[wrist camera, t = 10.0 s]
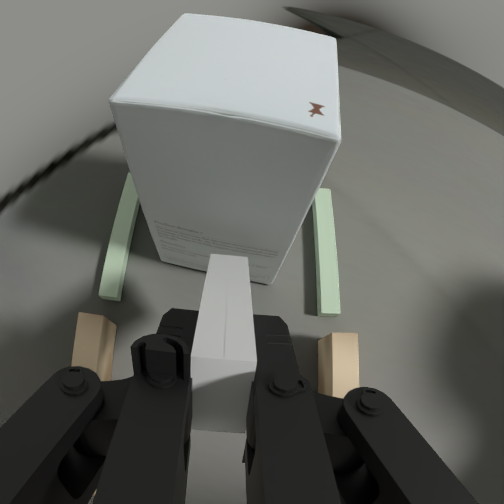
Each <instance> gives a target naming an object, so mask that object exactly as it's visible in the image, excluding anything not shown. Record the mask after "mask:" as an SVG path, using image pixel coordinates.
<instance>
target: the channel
mask: <svg viewBox="0 0 504 504" xmlns="http://www.w3.org/2000/svg"><path fill="white" fill-rule="evenodd" d="M116 327H117V326H116V325H115V324H114V323H113V322H111V321H110V320H109V319H107V318H106V317H105V316H103V315H96V314H89V313H83V312H79V315H78V321H77V327H76V334H75V341H74V348H73V356H72V365H71V366H81V367H85V368H89V369H91V370H92V371H94V372H95V373H97V375H98V377H99V378H100V380H101V381H111V371H112V361H113V351H114V343H115V335H116ZM355 388H359V355H358V333H331V334H329V335H327V336H325V337H324V338H322V339H320V340H318V393H321V394H324V395H328V396H333V397H338V398H344V396H345V395H346V394H347V393H348V391H350V390H352V389H355ZM96 490H97V489H96ZM95 493H96V491H95V492H94V494H93V495H92V496H94V495H95Z"/></svg>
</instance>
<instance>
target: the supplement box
mask: <svg viewBox="0 0 504 504" xmlns="http://www.w3.org/2000/svg"><path fill="white" fill-rule="evenodd" d="M109 104H110V108H111V110H112V114H113V117H114V120H115V123H116V126H117V130H118V133H119V137H120V140H121V143H122V147H123V150H124V154H125V157H126V160H127V163H128V167H129V170H130V173H131V176H132V179H133V183H134V185H135V189H136V192H137V195H138V198H139V201H140V204H141V207H142V210H143V213H144V216H145V219H146V221H147V224H148V227H149V230H150V233H151V236H152V238H153V241H154V243H155V246H156V248H157V251H158V254H159V256H160V259H161V261H163V262H168V263H172V264H176V265H180V266H184V267H189V268H193V269H198V270H202V271H207V270H208V265H209V260H210V255H211V254H220V255H231V256H242V257H248V266H249V277H250V281H254V282H259V283H264V284H268V285H272V283H273V281H274V280H275V278H276V276H277V274H278V271H279V269H280V267H281V265H282V263H283V261H284V259H285V257H286V255H287V253H288V251H289V249H290V247H291V245H292V243H293V241H294V239H295V237H296V235H297V233H298V231H299V229H300V227H301V225H302V223H303V221H304V219H305V217H306V214H307V212H308V210H309V208H310V206H311V204H312V202H313V200H314V198H315V196H316V194H317V192H318V189H319V187H320V185H321V183H322V181H323V179H324V177H325V175H326V173H327V170H328V168H329V166H330V164H331V162H332V160H333V158H334V156H335V154H336V152H337V149H338V147H339V145H340V142H341V124H340V102H339V85H338V62H337V44H336V39H335V38H333V37H330V36H326V35H322V34H317V33H313V32H309V31H305V30H300V29H296V28H291V27H286V26H281V25H275V24H270V23H264V22H258V21H252V20H245V19H238V18H229V17H220V16H211V15H199V14H187V13H186V14H183V15H182V16H181V17H180V18H179V19H178V20H177V21H176V22H175V23H174V24H173V25H172V26H171V27H170V28H169V29H168V30H167V32H166V33H165V34H164V35H163V36H162V37H161V38H160V39H159V40H158V41H157V42H156V44H155V45H154V46H153V47H152V48H151V49H150V50H149V52H148V53H147V54H146V55H145V57H144V58H143V59H142V60H141V61H140V62H139V63H138V64H137V66H136V67H135V68H134V69H133V70H132V71H131V73H130V74H129V75H128V76H127V77H126V79H125V80H124V81H123V82H122V83H121V85H120V86H119V87H118V88H117V90H116V91H115V93H114V94H113V95H112V96H111V97H110V99H109Z"/></svg>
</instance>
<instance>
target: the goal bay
mask: <svg viewBox="0 0 504 504" xmlns="http://www.w3.org/2000/svg"><path fill="white" fill-rule="evenodd" d="M139 205H140V201H139V198H138V195H137V192H136V189H135V185H134V183H133V179H132V176H131V173H130V172H128V175H127V179H126V182H125V185H124V189H123V192H122V196H121V199H120V203H119V206H118V210H117V214H116V218H115V221H114V225H113V229H112V233H111V237H110V242H109V246H108V250H107V255H106V259H105V264H104V269H103V274H102V279H101V284H100V289H99V294H98V295H99V296H100V297H101V298H102V299H106V300H114V301H120V300H121V294H122V288H123V282H124V276H125V271H126V265H127V260H128V255H129V250H130V245H131V240H132V236H133V231H134V227H135V222H136V218H137V213H138V209H139ZM312 209H313V224H314V240H315V259H316V282H317V314H318V316H325V317H336V316H338V315H339V314H340V296H339V279H338V265H337V252H336V240H335V229H334V219H333V209H332V200H331V192H330V189H324V188H319V189H318V192H317V194H316V196H315V198H314V200H313V202H312Z"/></svg>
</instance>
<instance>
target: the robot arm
mask: <svg viewBox="0 0 504 504" xmlns="http://www.w3.org/2000/svg"><path fill="white" fill-rule="evenodd" d="M131 354H132V362H133V370H134V376H133V377H130V378H127V379H123V380H114V381H101V380H100V378H99V377H98V375H97V373H95V372H94V371H92V370H91V369H89V368H85V367H81V366H70V367H67V368H64V369H61V370H59V371H58V372H56V373H55V374H54V375H53V376H52V377H51V378H49V379H48V380H47V381H46V382H45V383H44V384H43V385H42V386H41V387H40V388H39V389H38V390H37V391H36V392H35V393H34V394H33V395H32V396H31V397H30V398H29V399H28V400H27V401H26V402H25V403H24V404H23V405H22V406H21V407H20V408H19V409H18V410H17V411H16V412H15V413H14V414H13V415H12V416H11V418H10V419H9V420H8V421H7V422H6V423H5V424H4V425H3V426H2V427H1V428H0V504H87V503H88V502H89V500H90V499H91V497H92V495H93V494H94V492H95V491H96V493H95V497H94V501H93V504H185V496H186V485H187V474H188V464H189V454H190V432H191V429H195V430H206V431H218V432H234V433H245V431H247V439H246V445H245V450H244V455H243V461H242V463H245V468H246V494H247V504H478V503H477V502H476V501H475V499H474V498H473V497H472V496H471V495H470V493H469V492H468V491H467V490H466V488H465V487H464V486H463V485H462V484H461V482H460V481H459V480H458V479H457V478H456V476H455V475H454V474H453V473H452V471H451V470H450V469H449V468H448V467H447V465H446V464H445V463H444V462H443V461H442V459H441V458H440V457H439V456H438V455H437V453H436V452H435V451H434V450H433V449H432V447H431V446H430V445H429V444H428V443H427V441H426V440H425V439H424V438H423V437H422V435H421V434H420V433H419V432H418V431H417V430H416V428H415V427H414V426H413V425H412V424H411V422H410V421H409V420H408V419H407V418H406V416H405V415H404V414H403V413H402V412H401V410H400V409H399V408H398V407H397V406H396V405H395V403H394V402H393V401H392V400H391V399H390V398H389V397H388V396H387V395H386V394H385V393H383V392H381V391H379V390H377V389H374V388H368V387H359V388H355V389H352V390H350V391H348V393H347V394H346V395H345V396H344V398H338V397H333V396H328V395H324V394H321V393H318V392H316V391H314V390H312V388H311V386H310V384H309V383H308V381H307V380H306V379H305V378H304V377H302V376H301V375H300V374H299V370H298V366H297V362H296V358H295V354H294V350H293V346H292V342H291V338H290V334H289V330H288V326H287V324H286V323H285V322H284V321H283V320H282V319H281V318H280V317H279V316H268V315H253V311H252V300H251V288H250V277H249V266H248V257H242V256H231V255H220V254H211V255H210V260H209V265H208V270H207V274H206V279H205V284H204V289H203V294H202V299H201V304H200V309H199V311H194V310H184V309H175V308H172V309H170V310H169V311H168V312H167V313H165V314H164V315H163V317H162V319H161V322H160V325H159V327H158V330H157V334H151V335H146V336H143V337H141V338H139V339H138V340H136V341H135V342H134V343H133V344H132V346H131ZM96 489H97V490H96Z"/></svg>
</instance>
